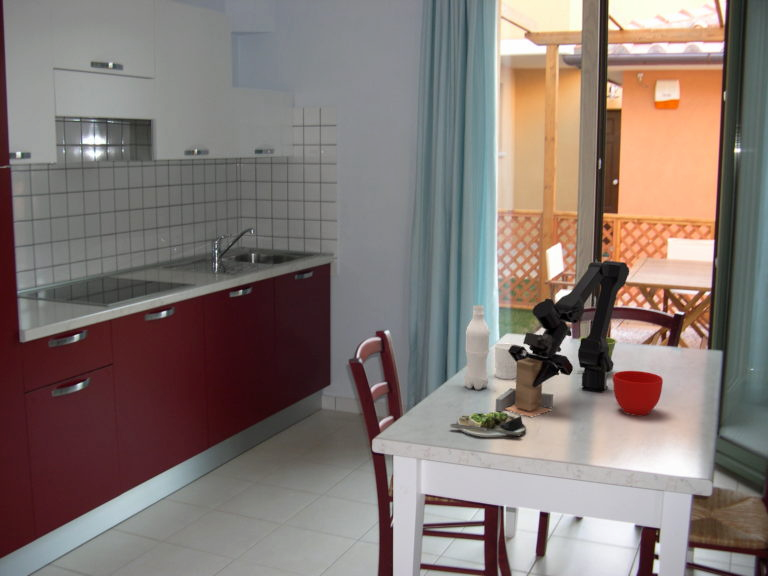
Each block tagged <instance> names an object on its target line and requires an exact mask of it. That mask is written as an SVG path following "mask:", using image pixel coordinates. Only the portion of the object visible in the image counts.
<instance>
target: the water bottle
mask: <svg viewBox="0 0 768 576" xmlns="http://www.w3.org/2000/svg"><path fill="white" fill-rule="evenodd" d="M484 307H485V306H484V305H481V304H475V305H473V310H472V318H471V320H470V322H469V324H468V325H467V327H466V330H465V350H464V351H465V354H466V362H467V363H466V370H465V374H464V384H465V386H466V387H467V388H468V389H473V387H474V389H475V390H478V391H479V390H481V389H485V388H487V385H488V382H489V376H488V371H487V359H488V356H489V352H490V334H491V332H490V328H489V327H488V326H489V325H488V324H487V322H486V320H485V317H484V315H485V311H484Z"/></svg>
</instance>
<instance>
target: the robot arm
mask: <svg viewBox="0 0 768 576" xmlns="http://www.w3.org/2000/svg"><path fill="white" fill-rule="evenodd" d="M629 274H630V268H629V266H628V265H627V263H626V262H623V261H616V260H615V261H614V260H607V259H606V260H604V261H602V262H600V261H591V262H590V263H589V264H588V266H587V270H586V271H585V272H584V274H583V275H582V276H581V278H580V279H579V281H577V283H576V285H575V286H574V287H573V288H572V290H571V291H570V292H569V293H568V294H565V295H564V296H563V295H562V296H561V297H560V299H559V300H558V301H556V302H554V299H552V298H545V299H544V301H541V302H539V303H537V304H536V305H534V307H533V308H532V314H533V316H534V318H535V319H536V321H537V323H538V324H539V325H540V327H541V328H542V329H544V331H543V333H542V334H536V333H531V332H526V333H525V336H524V339H523V341H522V342H523V344H524V345H527V346H528V349H529V350H530V351H532V352H528V350H527V349H526V348H525V346H522V345H519V344H517V345H512V346H511V347H510V349H509V350H508V352H509V353H510V355H511V356H512V357H513V359H514V360H515V361H516V362H517V361H519V360H522V359H526V358H531V359H535V360H539V361H542V368H541V370H540V371H539V373H538V375H537V377H536V379H535V381H534V383H533V387H537V386H538V385H540V384H541V383H542V384H543V383H544V382H546V381H547V380H549V379H551V378H553V377H555V376H559V375H560V374H561V375H567V376H570V375H571V374H572V372H573V369H574V366H573V364H572V362H571V361H570V360H569V358H568V357H567V356H566V355H562V354H558V353H561V351H562V348H561V345H562V343H563V341H564V340H565V338H566V337H571V336H572V330H571V326H570V325H568V324H567V323H570V324H578V322H579V321H580V320H581V319H582V317H583V315H584V313H585V303H586V302H587V301H588V299H589V298H590V296H591V295H592V294H593V292H594V291H595V289H596V288H597V286H600V291H599V295H598V298H597V303H596V305H595V306H596V307H595V311H594V314H593V319H592V324H591V327H590V332H589V334H588V336H585V337H586V338H582V340H581V341H580V342H579V347H578V349H577V350H578V351H577V358H578V364H579V368H583V369H584V371H583V372H582V374H581V375H582V376H581V386H582V387H581V390H585V391H591V392H597V393H604V392H605V391H606V390H607V389H608V388H609V386H608V375H607V372H608V373H612V371H613V368H614V365H615V363H614V361H613V360H612V357H611V358H610V357H609V355H608V354H609V346H608V343H607V340H606V337H607V336H608V332H609V328H610V324H611V319H612V315H613V313H614V311H613V310H614V307H615V303H616V300H617V295H618V292H620V290H621V289H622V288H623V287H624V286H625V285H626V282H627V279H628V277H629ZM518 345H519V346H518Z"/></svg>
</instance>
